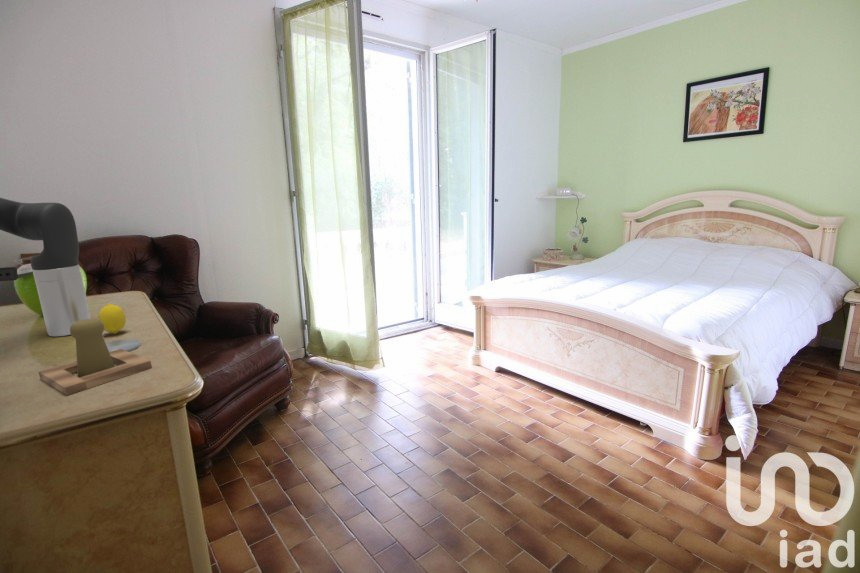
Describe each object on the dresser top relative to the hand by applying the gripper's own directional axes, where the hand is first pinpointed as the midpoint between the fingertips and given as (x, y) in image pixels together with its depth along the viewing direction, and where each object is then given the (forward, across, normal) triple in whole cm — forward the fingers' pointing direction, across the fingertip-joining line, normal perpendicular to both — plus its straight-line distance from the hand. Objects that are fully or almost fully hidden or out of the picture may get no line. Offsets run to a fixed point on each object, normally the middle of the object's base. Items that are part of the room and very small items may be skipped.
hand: (7, 272), depth 76 cm
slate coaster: (+19, +10, +20) cm, 30 cm away
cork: (+11, -2, +21) cm, 24 cm away
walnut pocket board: (+11, -2, +21) cm, 24 cm away
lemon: (+25, +23, +19) cm, 39 cm away
